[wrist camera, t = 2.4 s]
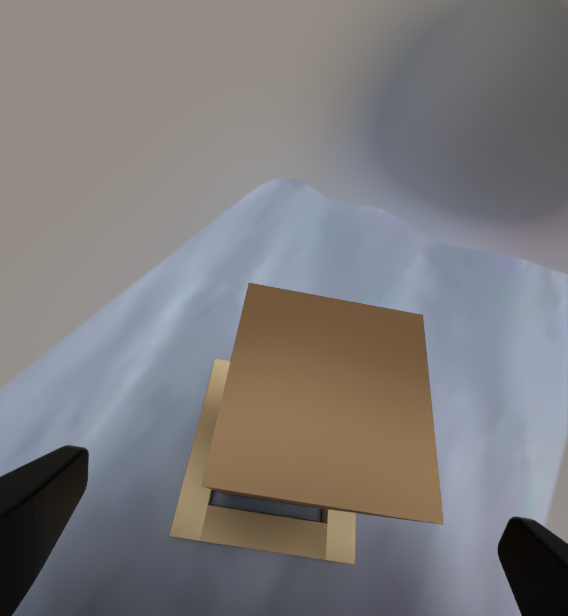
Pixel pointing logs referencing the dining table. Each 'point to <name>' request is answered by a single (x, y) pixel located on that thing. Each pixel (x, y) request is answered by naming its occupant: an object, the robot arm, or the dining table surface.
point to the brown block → (327, 408)
